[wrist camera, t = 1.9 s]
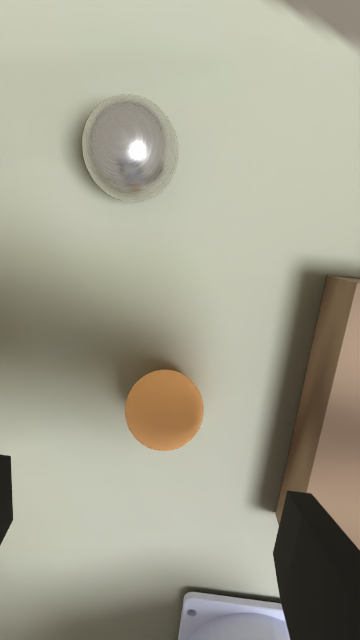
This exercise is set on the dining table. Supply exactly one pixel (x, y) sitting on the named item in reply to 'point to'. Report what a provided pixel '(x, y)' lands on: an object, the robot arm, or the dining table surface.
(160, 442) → the ball
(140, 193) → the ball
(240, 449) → the dining table surface
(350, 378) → the hole plate
